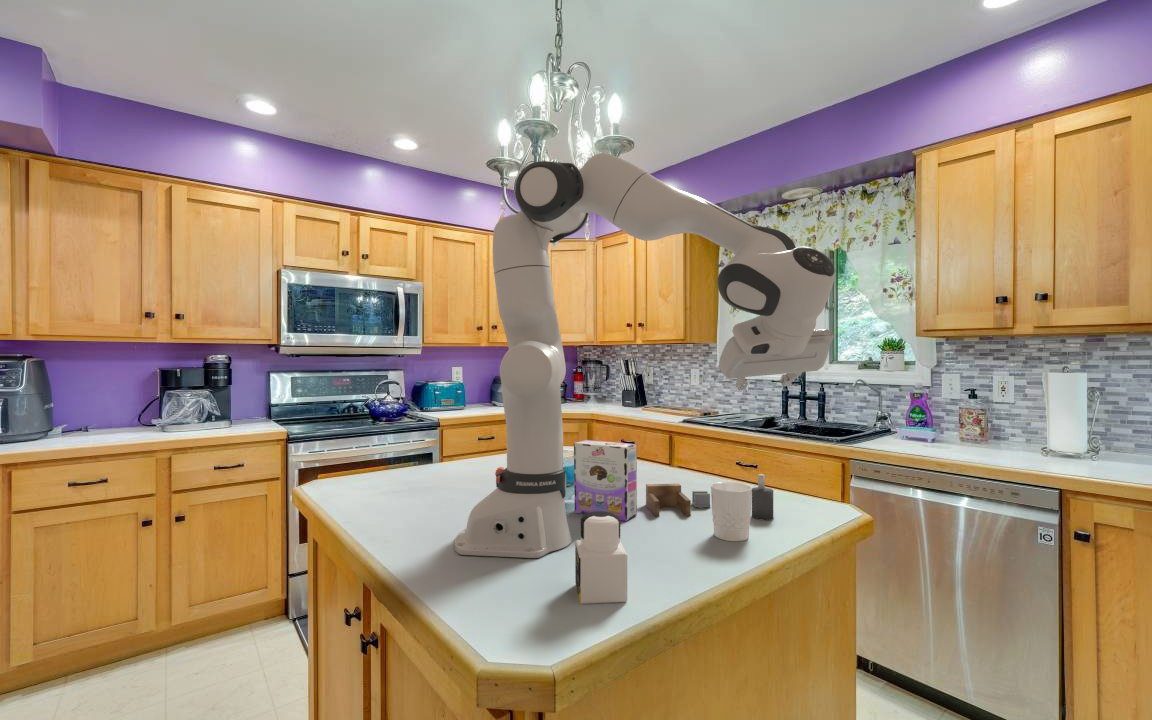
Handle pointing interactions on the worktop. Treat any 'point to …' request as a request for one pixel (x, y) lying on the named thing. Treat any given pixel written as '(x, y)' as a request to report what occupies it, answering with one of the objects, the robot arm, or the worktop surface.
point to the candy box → (605, 478)
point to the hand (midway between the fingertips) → (762, 385)
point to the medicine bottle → (600, 560)
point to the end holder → (666, 498)
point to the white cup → (731, 510)
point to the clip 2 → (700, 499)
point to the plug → (762, 500)
